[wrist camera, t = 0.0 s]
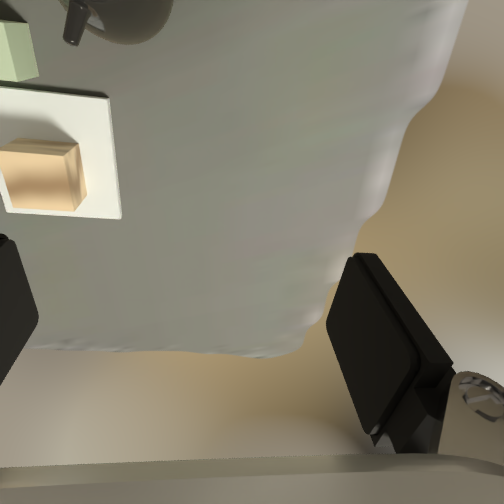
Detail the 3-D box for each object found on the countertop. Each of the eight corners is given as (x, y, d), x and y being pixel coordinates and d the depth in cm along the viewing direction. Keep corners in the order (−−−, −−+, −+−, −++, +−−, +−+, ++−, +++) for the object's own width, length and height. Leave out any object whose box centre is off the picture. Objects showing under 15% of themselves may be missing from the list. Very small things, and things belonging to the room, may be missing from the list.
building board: (-30, 82, 37) (-35, 83, 36) (109, 98, 39) (106, 99, 39) (10, 209, 46) (6, 212, 45) (122, 216, 48) (120, 219, 47)
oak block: (17, 137, 40) (-5, 150, 36) (78, 143, 41) (63, 156, 37) (32, 190, 44) (13, 207, 40) (87, 194, 45) (74, 211, 41)
